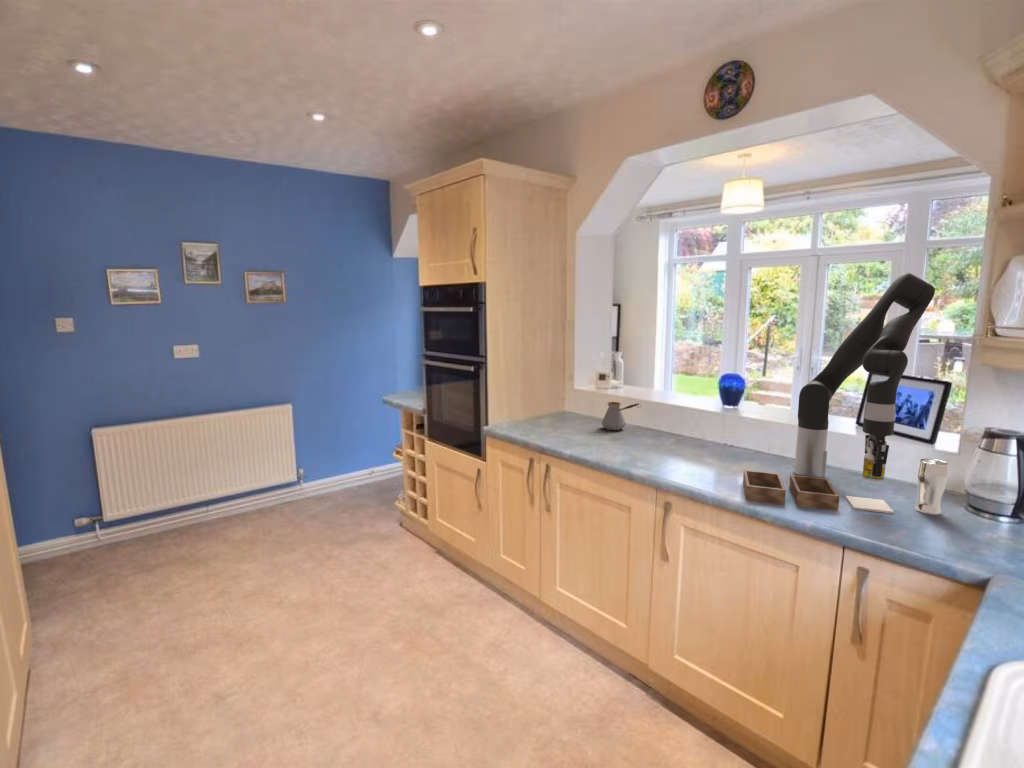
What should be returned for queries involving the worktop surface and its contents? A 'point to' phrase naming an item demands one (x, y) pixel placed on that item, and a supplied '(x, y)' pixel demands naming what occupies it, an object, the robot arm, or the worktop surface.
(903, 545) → the worktop surface
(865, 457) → the supplement bottle
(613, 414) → the coffee pot
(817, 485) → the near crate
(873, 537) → the worktop surface
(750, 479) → the far crate
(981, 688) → the worktop surface
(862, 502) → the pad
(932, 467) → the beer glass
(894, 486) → the worktop surface
